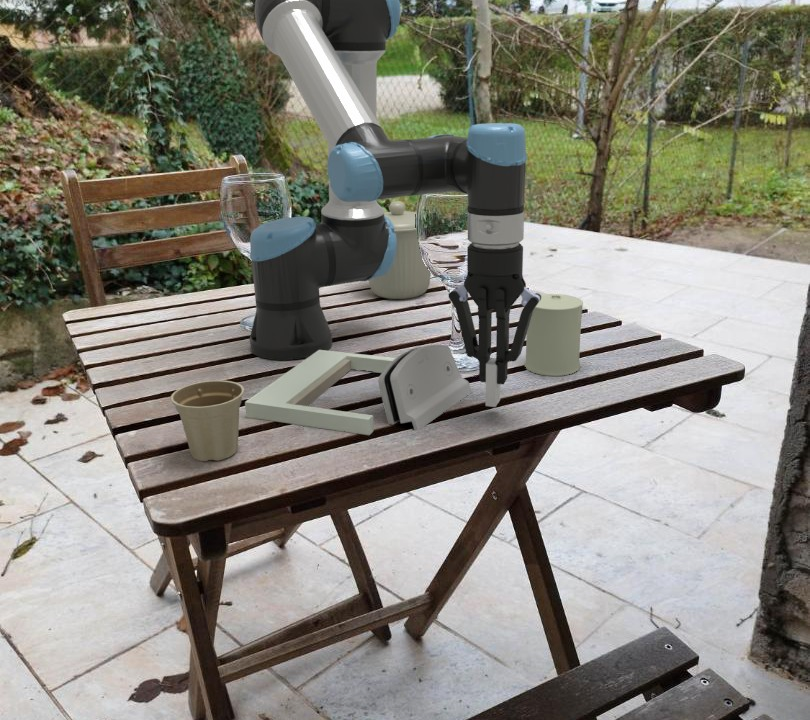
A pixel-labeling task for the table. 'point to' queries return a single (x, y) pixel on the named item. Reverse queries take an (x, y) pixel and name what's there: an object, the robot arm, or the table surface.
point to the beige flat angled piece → (315, 393)
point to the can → (554, 336)
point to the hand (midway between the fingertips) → (492, 402)
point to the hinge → (421, 385)
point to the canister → (403, 260)
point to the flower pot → (210, 417)
